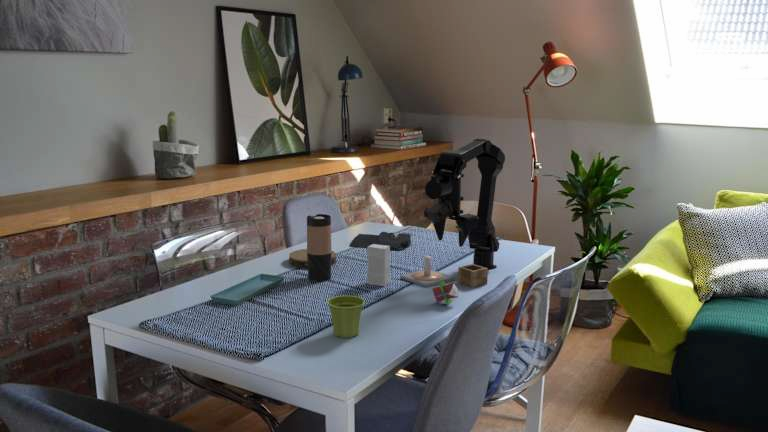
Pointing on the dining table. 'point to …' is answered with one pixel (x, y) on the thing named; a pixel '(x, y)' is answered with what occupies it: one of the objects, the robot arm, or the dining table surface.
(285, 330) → the dining table surface
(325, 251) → the travel mug
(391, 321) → the dining table surface
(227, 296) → the teal serving tray
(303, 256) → the round wooden board
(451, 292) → the geometric puzzle
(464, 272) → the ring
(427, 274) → the beige round peg stand
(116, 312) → the dining table surface
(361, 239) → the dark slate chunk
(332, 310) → the plant pot
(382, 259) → the skincare box
